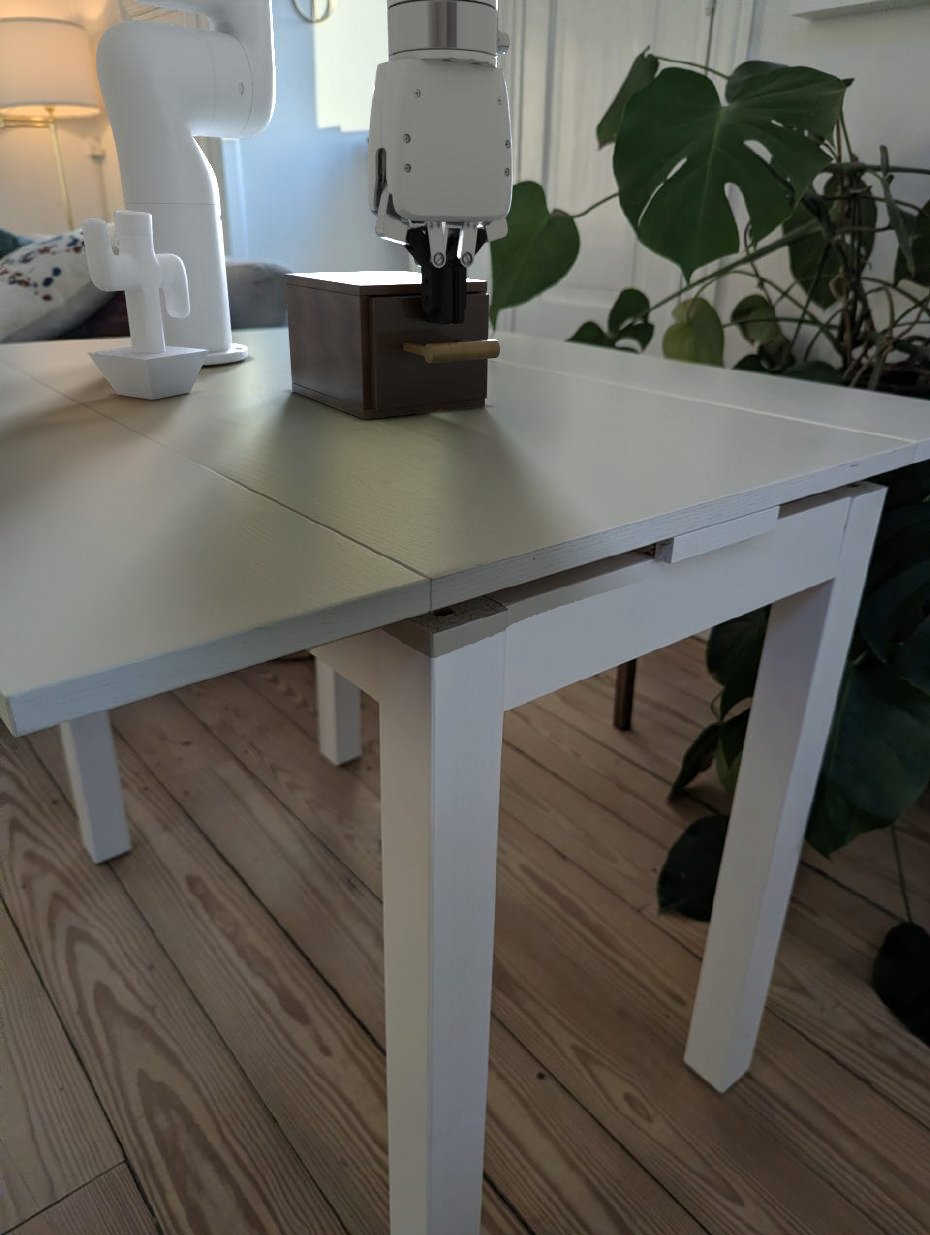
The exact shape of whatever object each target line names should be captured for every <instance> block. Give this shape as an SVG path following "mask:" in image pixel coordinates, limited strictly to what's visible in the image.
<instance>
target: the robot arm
mask: <svg viewBox="0 0 930 1235" xmlns="http://www.w3.org/2000/svg"><path fill="white" fill-rule="evenodd" d="M131 1H133V2H136V3H139V4H144V5H147V6H153V7H158V8H162V9H169V10H174V11H179V12H187V13H192V14H199V15H205V17H206V18H207V22H208V26H209V29H204V28H197V27H193V26H190V25H183V24H178V23H177V24H176V23H170V22H165V21H164V22H163V21H157V20H148V19H130V20H124V21H119V22H117V23H114V24H113V25H110V26H109V27H108V28H107V29H106V30H105V31H104V32H103V33H102V35H101V37H100V38H99V41H98V43H97V46H96V51H95V68H96V76H97V82H98V86H99V90H100V93H101V97H102V100H103V103H104V107H105V111H106V113H107V117H108V120H109V124H110V129H111V131H112V132H111V133H112V136H113V137H112V138H113V141H114V145H115V150H116V156H117V162H118V168H119V174H120V182H121V188H122V196H123V203H124V204H123V205H124V210H132V211H133V212H145V213H149V214H151V215H152V231H153V234H152V237H153V247H154V253H155V254H167V253H169V254H174V255H176V256H178V257H179V258H180V259H181V260H182V262H183V264H184V267H185V271H186V276H187V285H188V294H189V304H190V314H189V315H188V316H187V317H185V318H174V317H171V316H170V315H169V314H168V312H167V308H166V300H165V295H164V291H163V288H159V299H160V307H161V316H162V324H163V333H164V342H165V345H166V346H175V347H184V348H194V349H203V350H209V352H208V354H207V356H206V358H205V360H204V363H203V365H202V367H204V366H213V365H215V366H216V365H223V364H224V365H225V364H232V363H236V362H240V361H244V360H245V359H247V358H248V356H249V355H248V354H249V353H248V347H247V346H246V345H244V344H240V343H236V342H233V337H232V336H233V335H232V325H231V313H230V303H229V290H228V280H227V270H226V269H227V268H226V259H225V258H226V257H225V256H226V255H225V246H224V234H223V224H222V212H221V211H222V210H221V200H220V192H219V185H218V182H217V177H216V175H215V172H214V170H213V168H212V166H211V164H210V163H209V161H208V158H207V157H206V156H205V154H204V153H203V151H202V149H201V148H200V146H199V145H198V143H197V141H196V140H195V138H194V137H208V138H222V139H239V140H240V139H241V140H242V139H245V140H246V139H252V138H256V137H258V136H260V135H262V134H263V133H264V132H265V131H266V129H267V128H268V127H269V125H270V123H271V120H272V118H273V114H274V110H275V104H276V66H275V48H274V29H273V12H272V11H273V10H272V0H131ZM386 9H387V11H386V16H387V17H386V18H387V19H386V20H387V51H388V52H387V54H388V55H387V56H388V61H384V62H379V63H378V64H377V66H376V71H375V75H374V76H375V77H374V83H373V90H372V99H371V106H370V115H369V116H370V117H369V127H368V128H369V129H368V148H367V149H368V150H367V151H368V152H367V198H368V199H367V200H368V208H369V211H370V212H371V214H372V215H373V216H374V217H376V222H375V227H374V232H375V235H376V236H377V237H378V238H381V239H383V240H387V241H390V242H393V243H398V244H401V245H402V246H403V247H404V248H405V250H407V252H408V253H409V255H411V257H412V258H413V262H414V264H415V265H416V267H419V268H420V274H421V303H422V309H423V311H424V317H425V321H426V322H429V323H435V324H441V325H448V324H450V323H453V324H462V323H463V322H464V310H465V309H466V305H467V279H468V278H467V277H468V272H467V271H468V268H470V267H471V266H473V264H474V263H475V262H474V261H475V257H476V255H477V254H478V253H479V251H480V250H481V249H482V247H483V246H484V245H485V244H488V243H491V242H494V241H497V240H499V239H503V238H505V237H507V235H508V233H509V228H508V227H509V226H508V221H507V216H508V214H509V212H510V210H511V206H512V199H513V198H512V197H513V178H514V177H513V175H514V174H513V139H512V125H511V124H512V123H511V115H510V114H511V113H510V105H509V103H510V102H509V96H508V90H507V83H506V78H505V73H504V69H503V68H502V67H497V65H498V64H497V63H498V60H499V54H501V55H505V54H507V52H508V50H509V49H510V43H511V40H510V35H509V34H508V32H505V31H501V30H500V29H499V17H498V0H386ZM403 222H406V223H408V224H406V223H403ZM479 222H481V223H479ZM443 223H444V228H443ZM443 229H444V230H443Z"/></svg>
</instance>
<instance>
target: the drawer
mask: <svg viewBox="0 0 930 1235" xmlns="http://www.w3.org/2000/svg"><path fill="white" fill-rule="evenodd" d="M367 305H368V338H369V372H370V405H371V408H373V409H376V410H383V409H392V408H401V407H411V406H420V405H430V404H439V403H448V402H458V401H467V400H476V399H485V400H486V399H488V373H489V372H488V371H489V369H488V368H489V367H488V366H489V364H488V363H489V360H491V359H497V358H498V357H499V356H500V353H501V345H500V342H499V341H498V340H497V339H489V326H490V324H489V322H490V294H489V293H487V294H485V293H469V294H467V305H466V309H465V310H464V322H463V323H462V324H453V323H450V324H448V325H441V324H435V323H429V322H426V321H425V317H424V311H423V309H422V303H421V294H400V295H373V296H369V297H368V298H367Z"/></svg>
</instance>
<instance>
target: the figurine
mask: <svg viewBox="0 0 930 1235" xmlns="http://www.w3.org/2000/svg"><path fill="white" fill-rule="evenodd" d="M112 213H113V223H114V235H115V238H114V240H113V243H114V246H115V248H117V249H118V254H114V250H113V247H112V243H111V235H110V229H109V226H108V224H107V222H106V221H105V220H104V219H102V218H100V217H88V218H85V219H84V220H83V222H82V230H81V231H82V236H83V243H84V250H85V257H86V264H87V268H88V274H89V277H90V280H91V282H92V284H93V285H94V286H95V288H97V289H98V290H100V291H103V292H121V291H124V295H125V296H124V297H125V305H126V311H127V312H126V313H127V319H128V320H127V321H128V327H129V335H130V341H131V346H127V347H119V348H112V349H104V350H97V351H92V352H90V351H89V352H87V354H88V356H89V357H90V359H91V360H92V361H93V363H94V365H96V367H97V368H98V369H99V371H100V372H101V373H102V375H103V376H104V378H105V379H106V380H107V381H108V383H109V384H110V386H111V388H113V390H114V391H115V393H116V394H117V395H118V396H124V397H131V398H138V399H143V400H144V399H145V400H151V401H154V400H158V399H164V398H170V397H174V396H179V395H184V394H189V393H191V391H192V389H193V387H194V385H195V382H196V380H197V377H198V376H199V373H200V371H201V369H202V368H203V366H204V365H203V363H204V360H205V358H206V356H207V354H208V352H209V350H203V349H194V348H184V347H175V346H166V345H165V342H164V333H163V324H162V316H161V307H160V299H159V288H163V291H164V295H165V300H166V308H167V312H168V314H169V315H170V316H171V317H174V318H185V317H187V316H188V315H189V314H190V304H189V294H188V285H187V276H186V271H185V267H184V264H183V262H182V260H181V259H180V258H179V257H178V256H176V255H174V254H169V253H167V254H155V253H154V247H153V237H152V234H153V231H152V215H151V214H149V213H145V212H133V211H132V210H125V209H123V210H122V209H121V210H120V209H114V210H113V212H112ZM202 365H203V366H202Z"/></svg>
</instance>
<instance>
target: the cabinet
mask: <svg viewBox="0 0 930 1235" xmlns="http://www.w3.org/2000/svg"><path fill="white" fill-rule="evenodd" d="M284 283H285V299H286V300H285V301H286V313H287V314H286V316H287V328H288V330H287V331H288V345H289V346H288V347H289V360H290V377H291V391H292V392H293V393H295V394H298V395H301V396H303V397H306V398H308V399H311V400H313V401H316V402H319V403H321V404H324V405H326V406H328V407H331V408H334V409H336V410H339V411H341V412H344V413H346V414H349V415H351V416H353V417H356V418H359V419H361V420H363V421H364V420H365V421H366V420H373V419H382V418H390V417H391V418H392V417H400V416H409V415H418V414H427V413H435V412H436V413H437V412H444V411H453V410H462V409H463V410H464V409H471V408H480V407H485V406H486V399H476V400H467V401H458V402H448V403H439V404H430V405H420V406H411V407H401V408H392V409H383V410H376V409H373V408H371V405H370V372H369V338H368V305H367V298H368V297H369V296H373V295H400V294H421V272H420V273H418V272H410V271H401V270H399V271H397V270H396V271H357V272H356V271H355V272H353V271H351V272H350V271H349V272H309V273H306V272H305V273H284ZM469 293H485V294H488V281H487V280H481V279H472V278H471V279H470V278H467V294H469Z"/></svg>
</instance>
